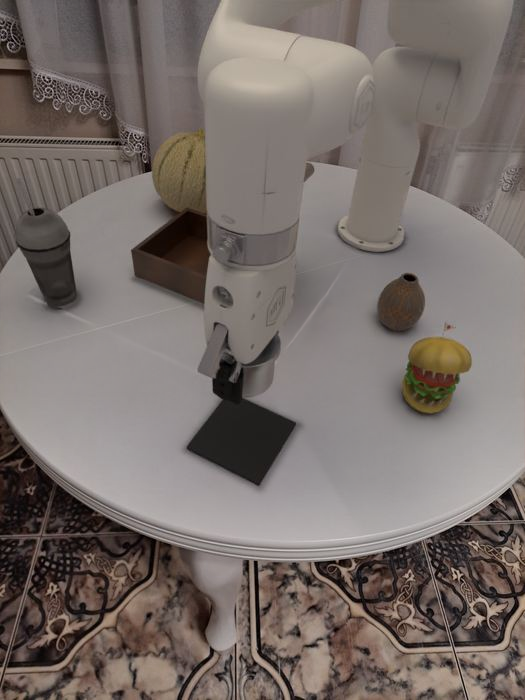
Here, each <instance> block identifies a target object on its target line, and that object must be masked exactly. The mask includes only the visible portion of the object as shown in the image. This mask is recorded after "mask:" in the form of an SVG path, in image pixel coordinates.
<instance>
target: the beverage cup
mask: <svg viewBox="0 0 525 700" xmlns="http://www.w3.org/2000/svg"><path fill="white" fill-rule="evenodd" d="M15 181H16V183H17V186H18V188H19V190H20V193H21V195H22V197H23V200H24V203H25V205H26V207H27V210H26V211H24V212H23V213H22V214H20V216H19V217H18V218H17V220H16V223H15V228H14V238H15V244H16V246H17V247H18V248H19V250H20V252H21V253H22V255H23V256H24V258H25V259H26V262H27V264H28V266H29V268H30V271H31V273H32V275H33V277H34V280H35V282H36V284H37V286H38V289H39V290H40V293H41V295H42V297H43V299H44V301H45V302H46V305H47V307H49V308H50V309H52V310H56V311H62V310H64V308H62V307H64V306H68V305H70V304H72V303H73V302H74V301H75V300H76V298H77V285H76V280H75V279H76V278H75V272H74V266H73V260H72V252H71V232H70V230H69V227H68V226H67V224H66V222H65V221H64V219H63V217H62V216H60V215H59V214H58V213H56V212H55V211H53V210H51V209H49V208H46V207H32V204H31V201H30V200H29V197H28V194H27V192H26V190H25V188H24V184H23V182H22V180H21V178H19V177H18V178H16V179H15Z"/></svg>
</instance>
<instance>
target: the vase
mask: <svg viewBox="0 0 525 700" xmlns="http://www.w3.org/2000/svg"><path fill="white" fill-rule="evenodd" d="M419 282H420V281H419V278H418V276H417V275H416V274H414V273H411V272H404V273H402V274H401V275H400V276H399V277H398V278H396V279H394V280H391V281H390V282H389V283H387V284H386V285H385V286H384V288H383V289H382V291H381V293H379V296H378V299H377V305H376V311H377V315H378V318H379V320H380V322H381V323H382V324H383V325H384V326H385V327H387V328H388V329H390V330H393V331H405V330H408V329H410V328H412V327H414V326H415V325H416V324H417V323H418V322H419V320H420V319H421V318H422V315H423V313H424V311H425V308H426V296H425V292H424V290H423V287H422V286H421V285H420V283H419Z"/></svg>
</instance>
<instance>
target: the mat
mask: <svg viewBox="0 0 525 700" xmlns="http://www.w3.org/2000/svg"><path fill="white" fill-rule="evenodd" d="M296 426H297V421H294V420H292V419H289V418H288V417H285V416H283V415H281V414H278V413H276V412H274V411H273V410H270V409H268V408H265V407H263V406H261V405H259V404H256V403H255V402H252V401H251V400H248V399H246V398H243V397H242V401H241V402H240V404H238V405H237V404H235V403H232V402H230V401H228V400H223V399H222V400H221V401H220V403H219V404H218V405H217V406H216V408H215V409H214V410H213V411H212V412H211V414H210V415H209V417H208V418H207V419H206V421H205V422H204V423H203V425H202V426H201V427H200V428H199V430H198V431H197V432H196V433H195V435H194V436H193V437H192V439H191V440H190V441H189V442H188V444H187V445H186V450H187V451H189V452H192V453H193V454H195V455H197V456H199V457H202V458H203V459H205V460H206V461H209V462H210V463H213V464H215V465H216V466H219V467H220V468H223V469H224V470H227V471H229V472H230V473H232V474H234V475H236V476H238V477H240V478H242V479H244V480H246V481H248V482H249V483H251V484H254V485H256V486H258V487H259V486H260V485H262V482H263V481H264V479H265V477H266V476H267V474H268V472H269V471H270V469H271V468H272V465H273V464H274V463H275V461H276V459H277V457H278V456H279V454H280V453H281V451H282V449H283V448H284V446H285V445H286V443H287V441H288V439H289V438H290V436H291V434H292V433H293V432H294V429H295V428H296Z"/></svg>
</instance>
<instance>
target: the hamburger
mask: <svg viewBox="0 0 525 700" xmlns="http://www.w3.org/2000/svg"><path fill="white" fill-rule="evenodd" d="M456 328H457V327H456V326H454V325H452V324H450V323H448V322H447V321H445V322H444V327H443V331H442V335H441V336H428V337H424V338H421V339H420V340H417V341H416V342H414V343H413V344H412V346H411V347H410V349H409V352H408V355H407V360H408V362H407V365H406V368H405V371H406V373H405V374H404V376H403V378H402V381H401V391H402V395H403V398H404V400H405V402H407V404H408V405H409V406H410V407H411V408H412V409H414V410H416V411H418V412H421V413H425V414H436V413H438V412H441V411H443V410H444V409H446V408H448V407H449V405H450V403H451V402H452V398H453V396H454V395H453V394H454V392H455V391H456V389H457V386H456V385H458V384H460V382H461V378H460V377H461V376H460V375H461V374H465V373H468V372H469V371H470V369H471V367H472V365H473V363H472V361H473V359H472V355H471V353H470V350H469V349H467V347H466V346H465V344H462V343H460V342H459V341H457V340H454V339H453V338H449V337H445V336H444V334H445V332H447V331H450V330H453V329H456Z"/></svg>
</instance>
